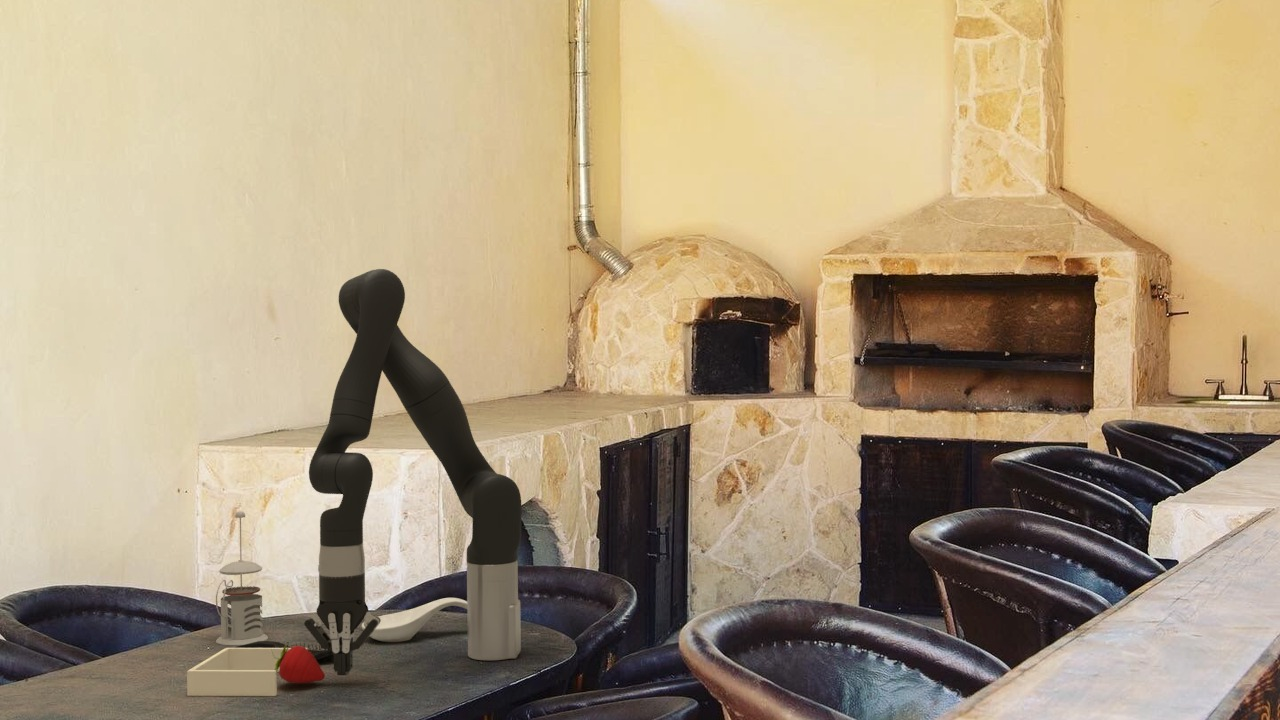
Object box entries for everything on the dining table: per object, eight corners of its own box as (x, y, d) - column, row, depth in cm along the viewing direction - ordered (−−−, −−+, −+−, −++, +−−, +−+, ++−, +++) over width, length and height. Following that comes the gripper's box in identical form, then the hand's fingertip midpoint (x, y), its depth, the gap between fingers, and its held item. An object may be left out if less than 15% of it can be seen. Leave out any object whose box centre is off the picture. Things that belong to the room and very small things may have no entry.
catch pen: (307, 670, 228) (307, 647, 228) (275, 696, 211) (274, 671, 211) (226, 670, 229) (226, 647, 229) (187, 695, 212) (187, 671, 212)
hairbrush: (252, 631, 249) (353, 636, 238) (253, 650, 249) (354, 657, 238) (219, 640, 242) (322, 646, 230) (220, 660, 242) (323, 667, 230)
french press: (278, 635, 257) (276, 509, 256) (242, 648, 246) (240, 516, 245) (236, 632, 260) (234, 507, 260) (198, 645, 249) (196, 514, 249)
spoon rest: (365, 649, 245) (365, 611, 245) (358, 636, 256) (357, 599, 256) (489, 638, 253) (488, 601, 253) (477, 626, 264) (476, 591, 264)
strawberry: (336, 654, 221) (282, 631, 221) (326, 667, 214) (270, 643, 214) (323, 686, 222) (269, 662, 221) (312, 699, 214) (256, 675, 214)
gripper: (386, 567, 222) (387, 669, 222) (310, 567, 223) (311, 668, 223) (375, 574, 214) (376, 680, 214) (296, 575, 215) (297, 679, 215)
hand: (343, 674), depth 219 cm, fingers closed
